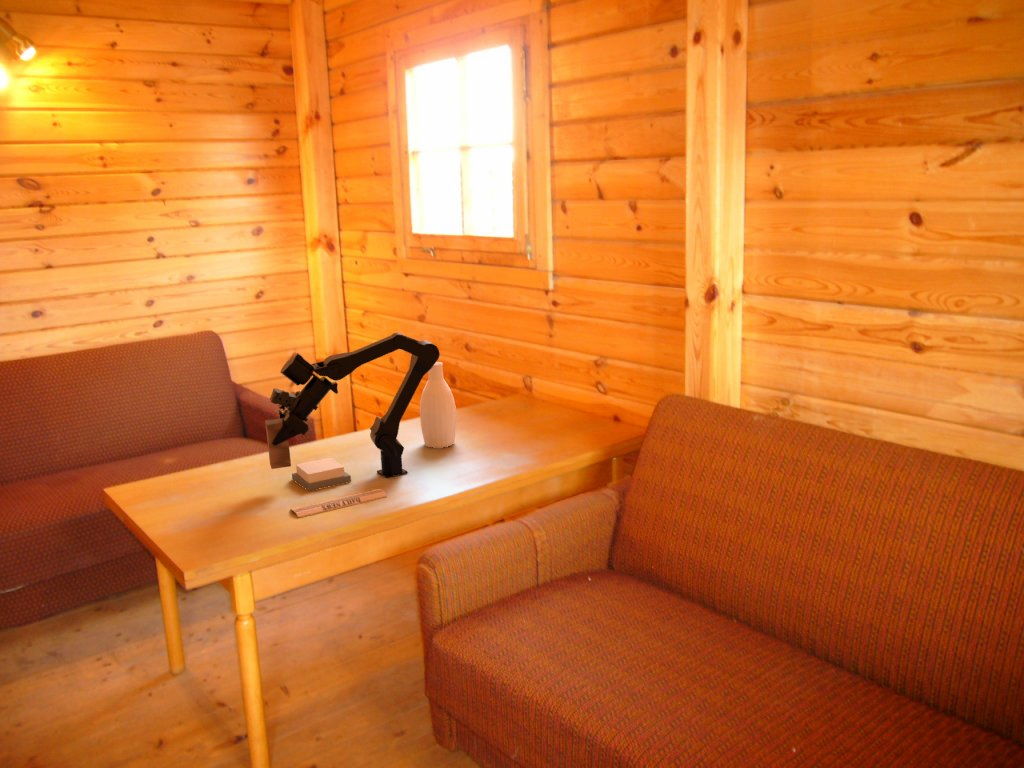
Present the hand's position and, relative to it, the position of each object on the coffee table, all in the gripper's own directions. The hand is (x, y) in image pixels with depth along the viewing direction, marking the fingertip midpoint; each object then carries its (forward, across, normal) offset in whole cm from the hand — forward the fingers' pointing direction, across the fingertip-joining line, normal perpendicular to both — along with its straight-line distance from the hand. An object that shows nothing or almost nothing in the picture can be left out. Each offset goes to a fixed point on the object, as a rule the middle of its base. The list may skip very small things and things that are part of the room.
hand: (272, 441), depth 234 cm
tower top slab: (0, -2, +16) cm, 17 cm away
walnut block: (+4, 0, +6) cm, 7 cm away
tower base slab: (+2, -2, +18) cm, 18 cm away
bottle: (-26, -20, +46) cm, 56 cm away
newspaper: (+1, +19, +20) cm, 27 cm away
